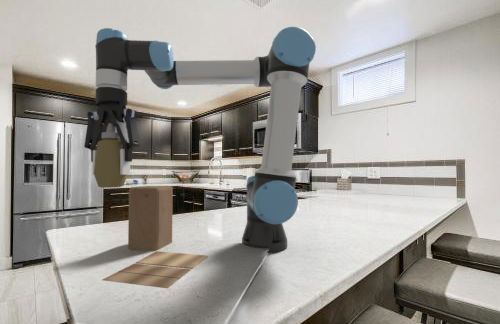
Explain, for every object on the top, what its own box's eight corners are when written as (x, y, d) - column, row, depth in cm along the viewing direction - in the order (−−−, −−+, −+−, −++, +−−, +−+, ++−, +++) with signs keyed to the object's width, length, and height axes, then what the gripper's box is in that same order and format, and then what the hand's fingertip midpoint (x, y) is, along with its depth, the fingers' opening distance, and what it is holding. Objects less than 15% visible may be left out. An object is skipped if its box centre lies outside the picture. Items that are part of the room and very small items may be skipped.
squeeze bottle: (102, 186, 72) (103, 122, 73) (132, 185, 73) (132, 122, 73) (86, 188, 64) (87, 116, 65) (120, 187, 65) (121, 116, 65)
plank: (207, 261, 70) (207, 255, 70) (192, 275, 62) (192, 268, 62) (156, 256, 74) (156, 251, 74) (134, 269, 66) (134, 262, 66)
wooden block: (156, 255, 76) (157, 187, 76) (126, 253, 78) (127, 187, 78) (173, 246, 85) (173, 185, 86) (146, 244, 87) (146, 185, 88)
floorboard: (191, 275, 61) (191, 269, 61) (167, 295, 51) (167, 287, 51) (133, 269, 65) (133, 263, 65) (101, 286, 55) (101, 279, 55)
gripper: (154, 90, 70) (154, 174, 69) (92, 97, 76) (91, 174, 75) (135, 81, 63) (135, 174, 62) (68, 89, 68) (67, 175, 67)
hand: (111, 174), depth 68 cm, fingers closed on squeeze bottle, 8 cm apart
